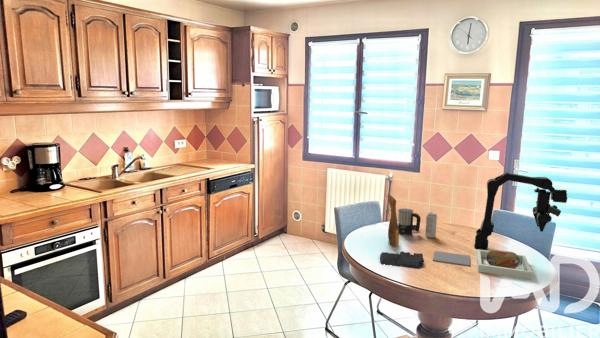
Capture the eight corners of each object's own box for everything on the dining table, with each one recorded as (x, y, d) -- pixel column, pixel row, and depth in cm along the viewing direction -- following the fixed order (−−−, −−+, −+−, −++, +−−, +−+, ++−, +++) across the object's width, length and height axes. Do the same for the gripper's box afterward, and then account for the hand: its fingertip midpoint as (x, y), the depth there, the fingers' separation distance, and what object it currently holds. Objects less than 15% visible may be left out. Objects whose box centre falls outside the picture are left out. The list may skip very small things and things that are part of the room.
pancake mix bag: (387, 247, 230) (390, 199, 226) (385, 236, 249) (387, 192, 244) (399, 248, 229) (402, 200, 225) (396, 237, 248) (398, 192, 243)
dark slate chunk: (380, 254, 221) (380, 246, 220) (422, 258, 216) (423, 250, 215) (379, 265, 206) (379, 256, 206) (424, 270, 201) (424, 261, 201)
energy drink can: (437, 237, 248) (439, 214, 246) (428, 238, 247) (430, 214, 244) (431, 234, 254) (433, 211, 252) (423, 235, 252) (424, 212, 250)
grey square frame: (477, 271, 199) (478, 264, 199) (476, 255, 220) (477, 249, 220) (531, 279, 191) (532, 272, 190) (524, 262, 212) (525, 255, 212)
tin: (485, 265, 207) (487, 249, 206) (485, 263, 210) (486, 247, 209) (519, 270, 202) (520, 254, 200) (518, 268, 204) (520, 252, 203)
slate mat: (432, 260, 212) (432, 259, 212) (434, 251, 225) (434, 250, 225) (470, 266, 206) (470, 265, 206) (469, 256, 218) (469, 255, 218)
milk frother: (397, 234, 253) (398, 211, 251) (395, 227, 269) (396, 205, 266) (420, 236, 251) (422, 213, 249) (418, 228, 266) (419, 206, 264)
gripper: (564, 206, 206) (561, 236, 209) (556, 198, 223) (553, 226, 226) (539, 204, 210) (536, 233, 213) (533, 196, 227) (530, 223, 230)
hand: (540, 229), depth 220 cm, fingers open, 9 cm apart
